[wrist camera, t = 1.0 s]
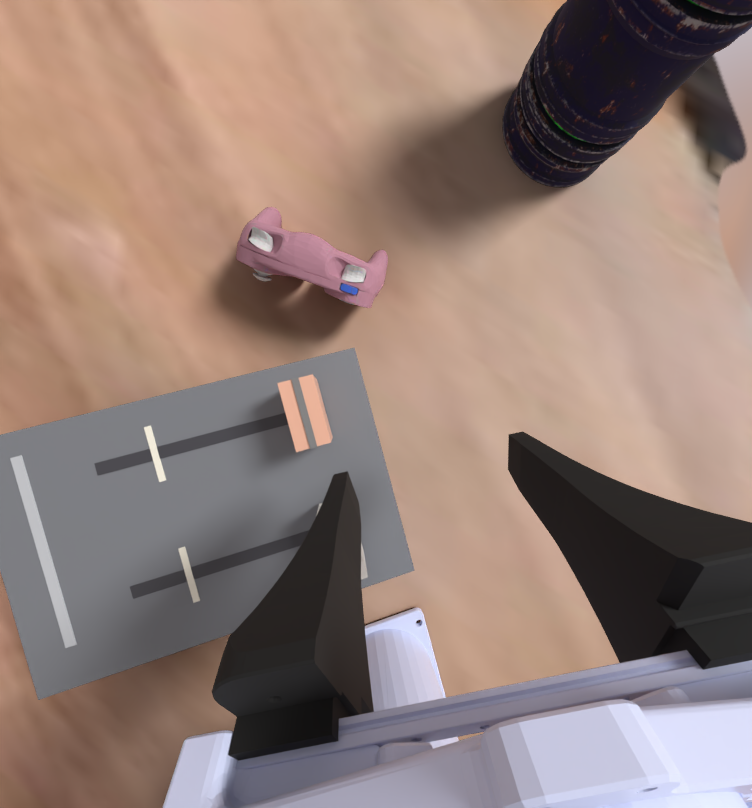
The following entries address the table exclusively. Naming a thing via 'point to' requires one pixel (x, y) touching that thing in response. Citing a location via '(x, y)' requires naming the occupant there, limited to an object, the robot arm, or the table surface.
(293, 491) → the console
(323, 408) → the fader terracotta
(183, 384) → the table surface
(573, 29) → the dark ribbed cylinder
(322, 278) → the video game controller
